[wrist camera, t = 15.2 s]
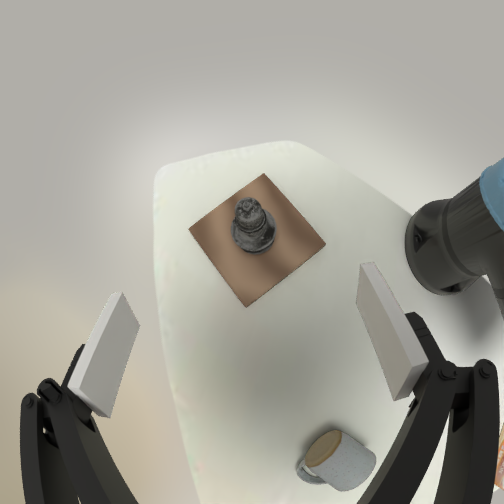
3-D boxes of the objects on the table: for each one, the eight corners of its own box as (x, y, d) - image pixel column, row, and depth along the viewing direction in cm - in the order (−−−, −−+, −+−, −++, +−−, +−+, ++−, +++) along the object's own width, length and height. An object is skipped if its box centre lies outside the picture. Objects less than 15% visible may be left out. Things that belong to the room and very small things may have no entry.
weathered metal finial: (231, 220, 40) (212, 183, 28) (271, 212, 39) (268, 171, 28) (238, 260, 38) (221, 237, 27) (281, 252, 38) (282, 224, 26)
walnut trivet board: (264, 177, 42) (263, 173, 41) (324, 246, 39) (325, 243, 38) (191, 231, 41) (188, 228, 40) (246, 307, 38) (245, 307, 37)
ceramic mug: (334, 419, 33) (344, 441, 26) (369, 444, 32) (383, 467, 24) (283, 463, 33) (283, 490, 25) (320, 486, 31) (325, 512, 23)
